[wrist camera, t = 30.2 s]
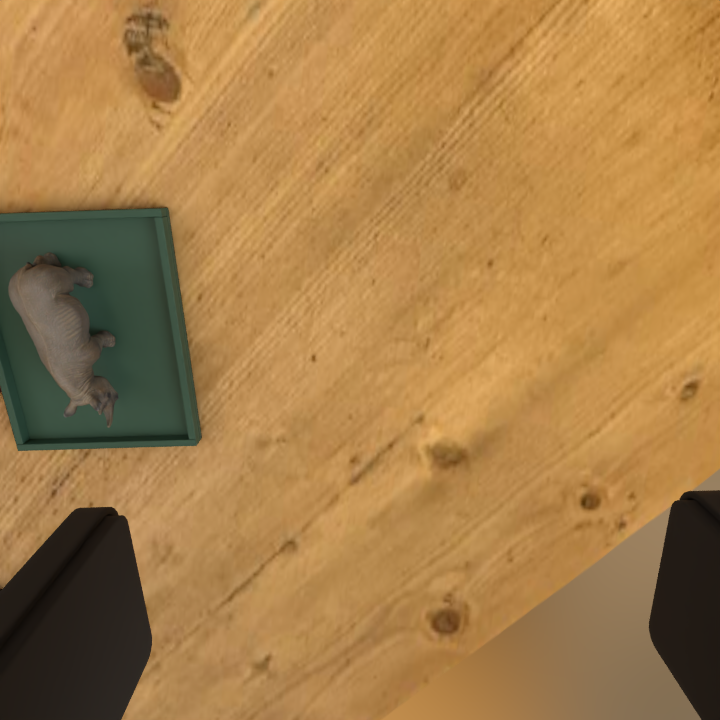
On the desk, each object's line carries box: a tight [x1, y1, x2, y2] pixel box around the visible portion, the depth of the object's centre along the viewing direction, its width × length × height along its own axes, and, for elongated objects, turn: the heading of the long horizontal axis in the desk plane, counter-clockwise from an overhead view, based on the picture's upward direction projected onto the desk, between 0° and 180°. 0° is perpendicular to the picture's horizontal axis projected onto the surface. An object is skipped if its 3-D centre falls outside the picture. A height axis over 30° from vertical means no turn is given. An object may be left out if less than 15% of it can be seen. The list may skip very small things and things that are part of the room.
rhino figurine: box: [8, 252, 119, 428], centre depth 38 cm, size 4×14×6 cm, turn 12°
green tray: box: [0, 208, 202, 451], centre depth 40 cm, size 19×15×2 cm
